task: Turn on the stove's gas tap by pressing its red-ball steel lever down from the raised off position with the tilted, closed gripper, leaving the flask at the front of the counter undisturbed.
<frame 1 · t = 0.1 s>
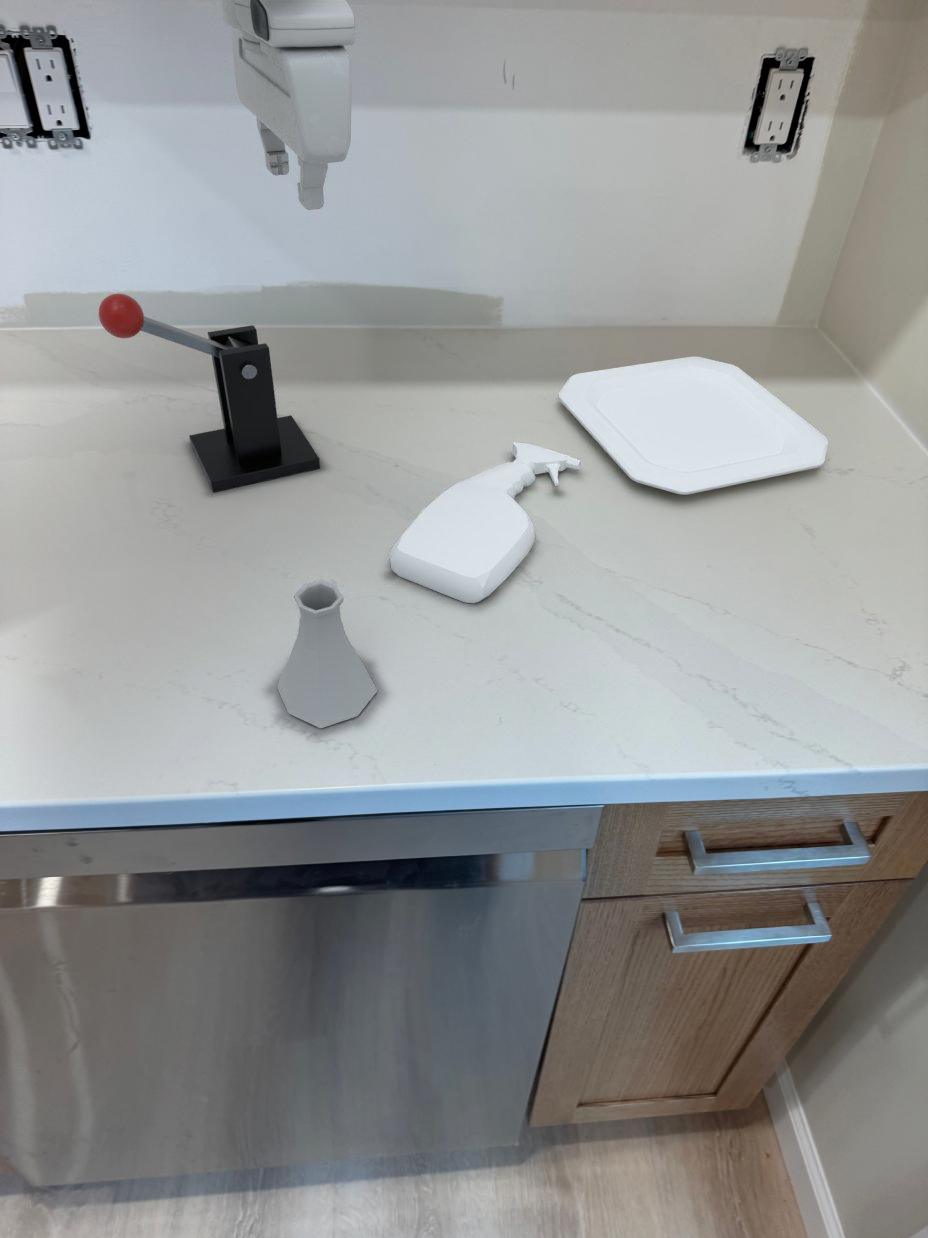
hand: (294, 188, 74), 24 cm above the counter, tool pointing down, fingers open, 8 cm apart
flask: (327, 692, 63), on the counter
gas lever: (181, 337, 74), point 14 cm above the counter, hinge at 30.0°
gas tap: (255, 457, 85), on the counter
plate: (685, 433, 93), on the counter
spray bottle: (493, 521, 80), on the counter
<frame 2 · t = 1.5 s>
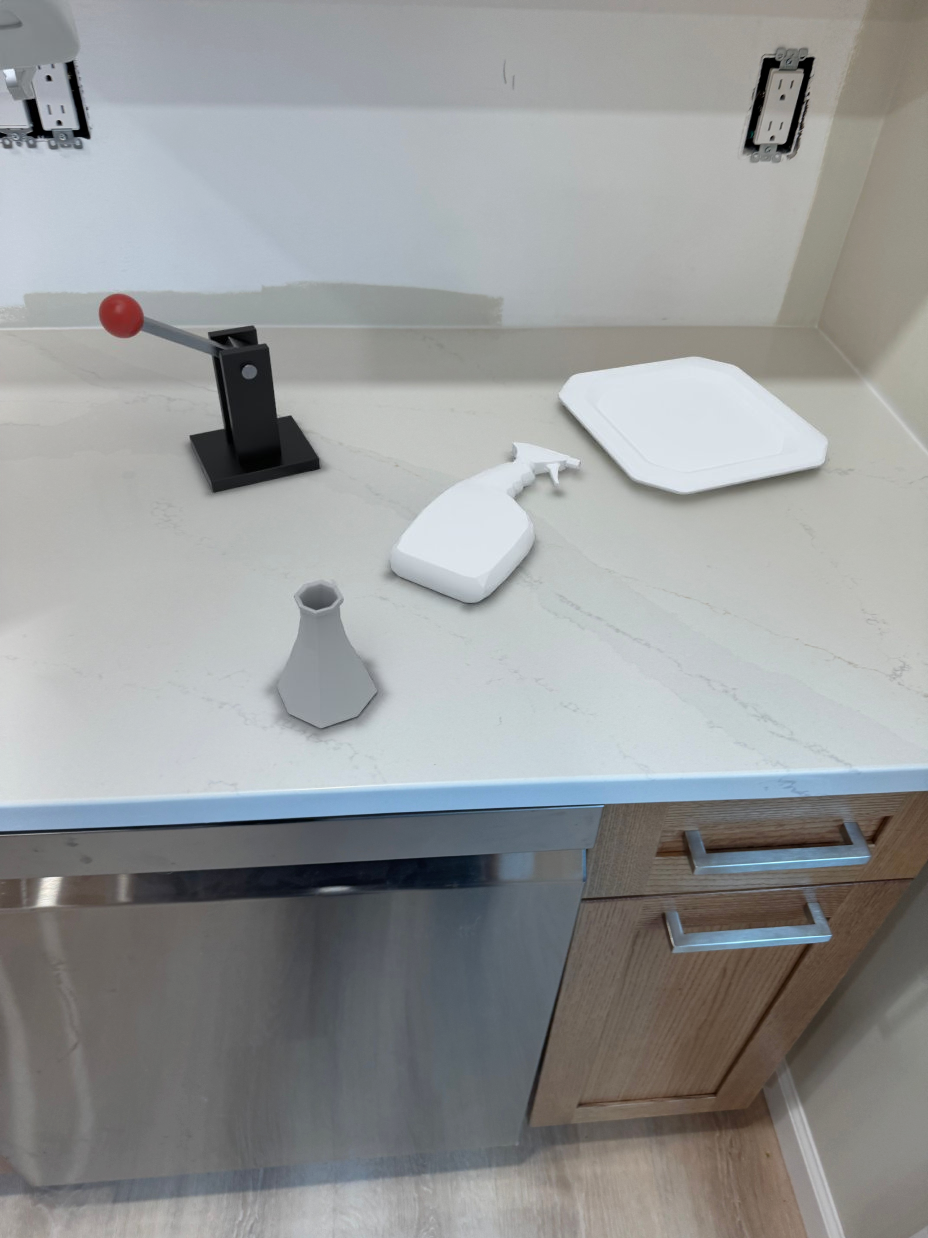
nothing on the counter moved.
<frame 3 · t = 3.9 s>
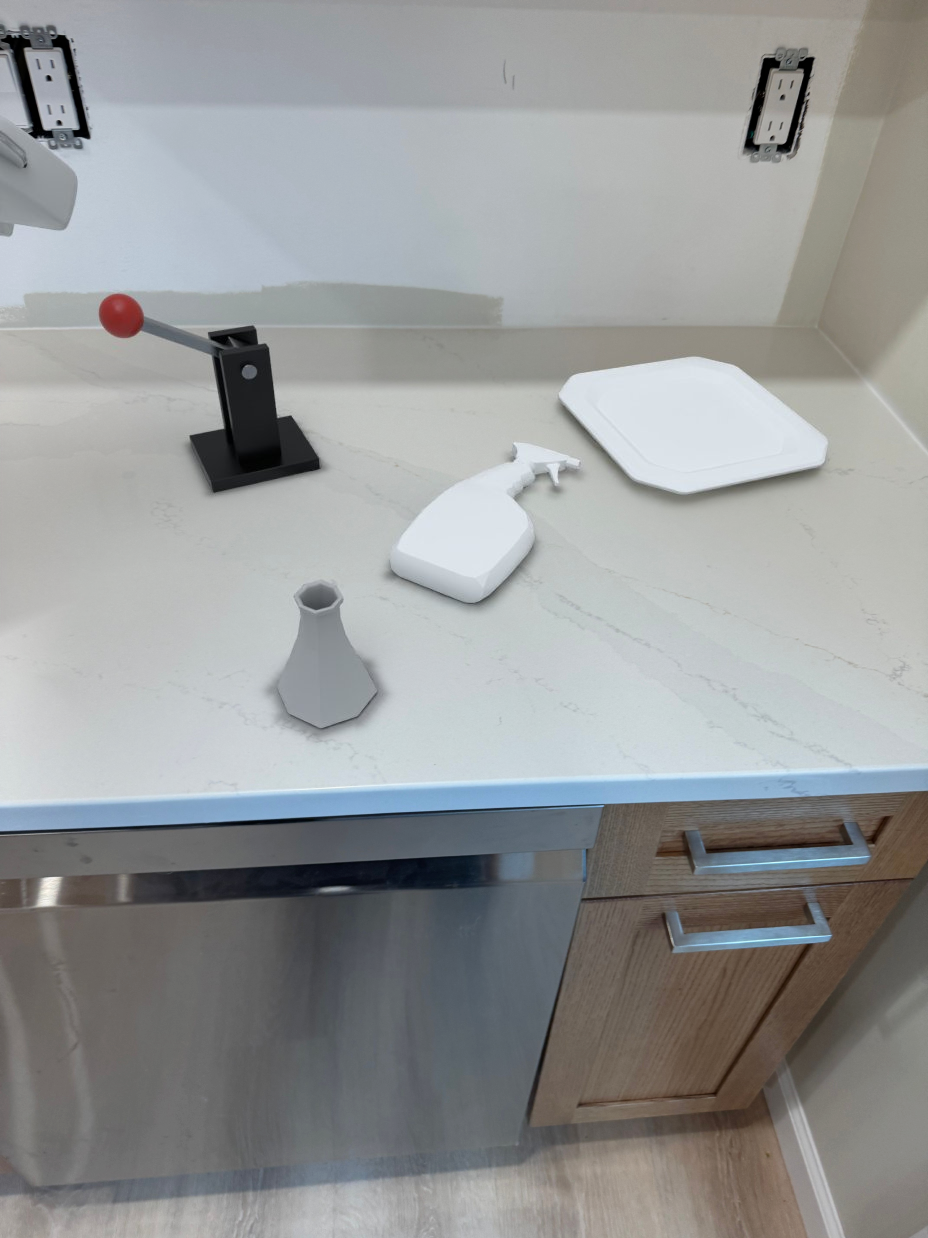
nothing on the counter moved.
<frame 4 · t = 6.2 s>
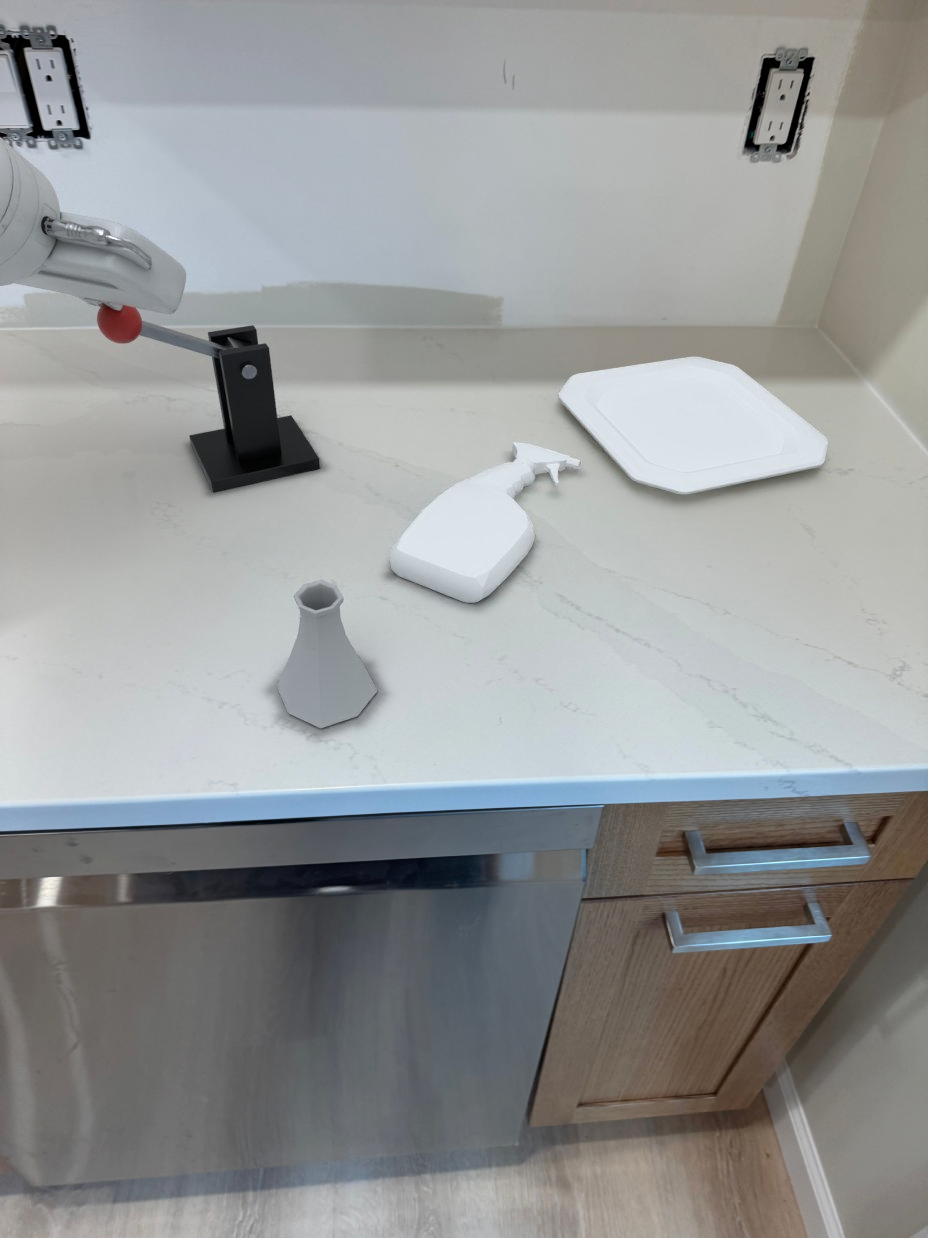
hand: (109, 298, 69), 18 cm above the counter, tool tilted 45°, fingers closed, pressing on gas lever
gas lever: (180, 339, 74), point 14 cm above the counter, hinge at 27.3°, touching gripper
everything else where it was.
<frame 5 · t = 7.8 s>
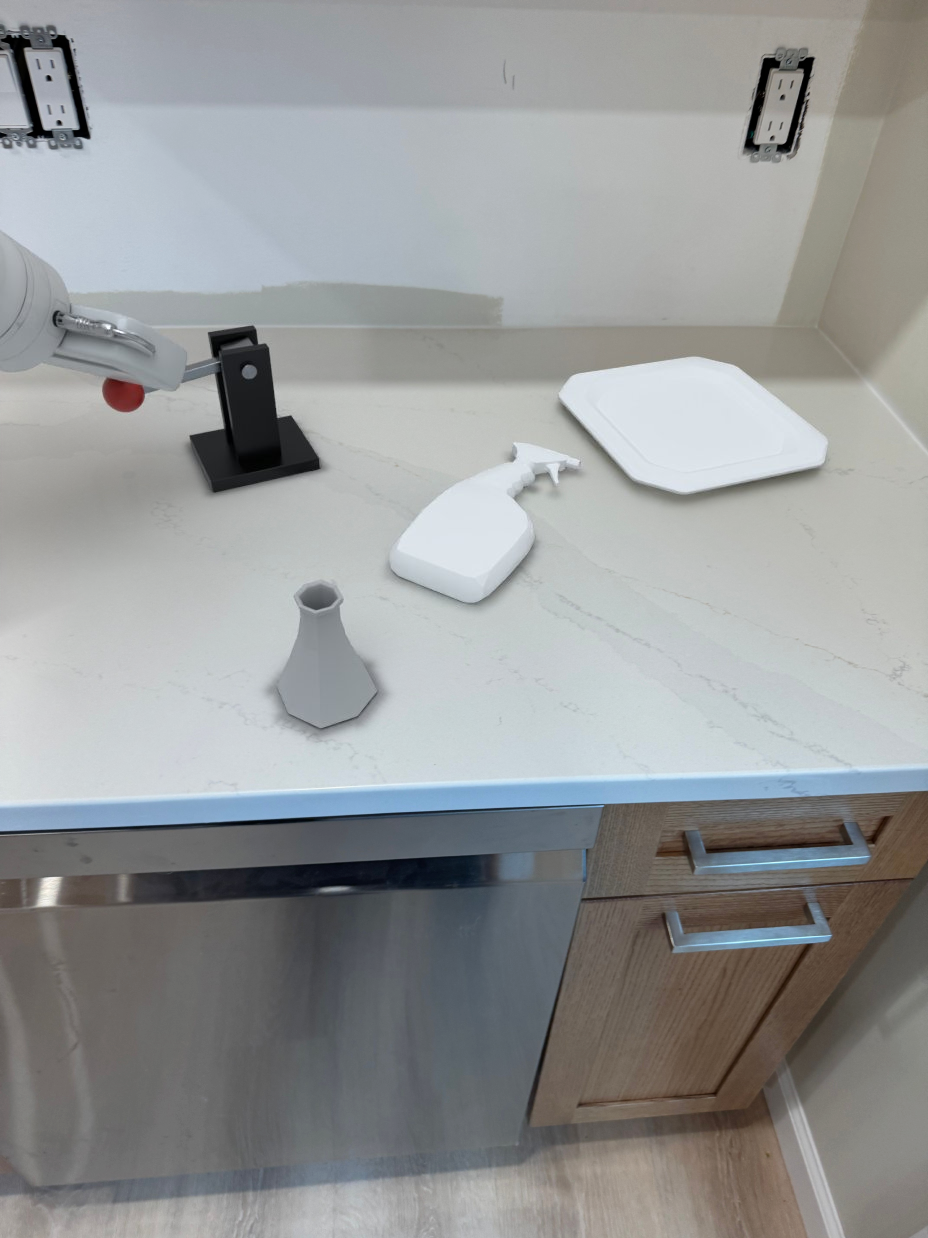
hand: (114, 369, 73), 12 cm above the counter, tool tilted 45°, fingers closed
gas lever: (181, 375, 76), point 10 cm above the counter, hinge at -7.3°, touching gripper
everything else where it was.
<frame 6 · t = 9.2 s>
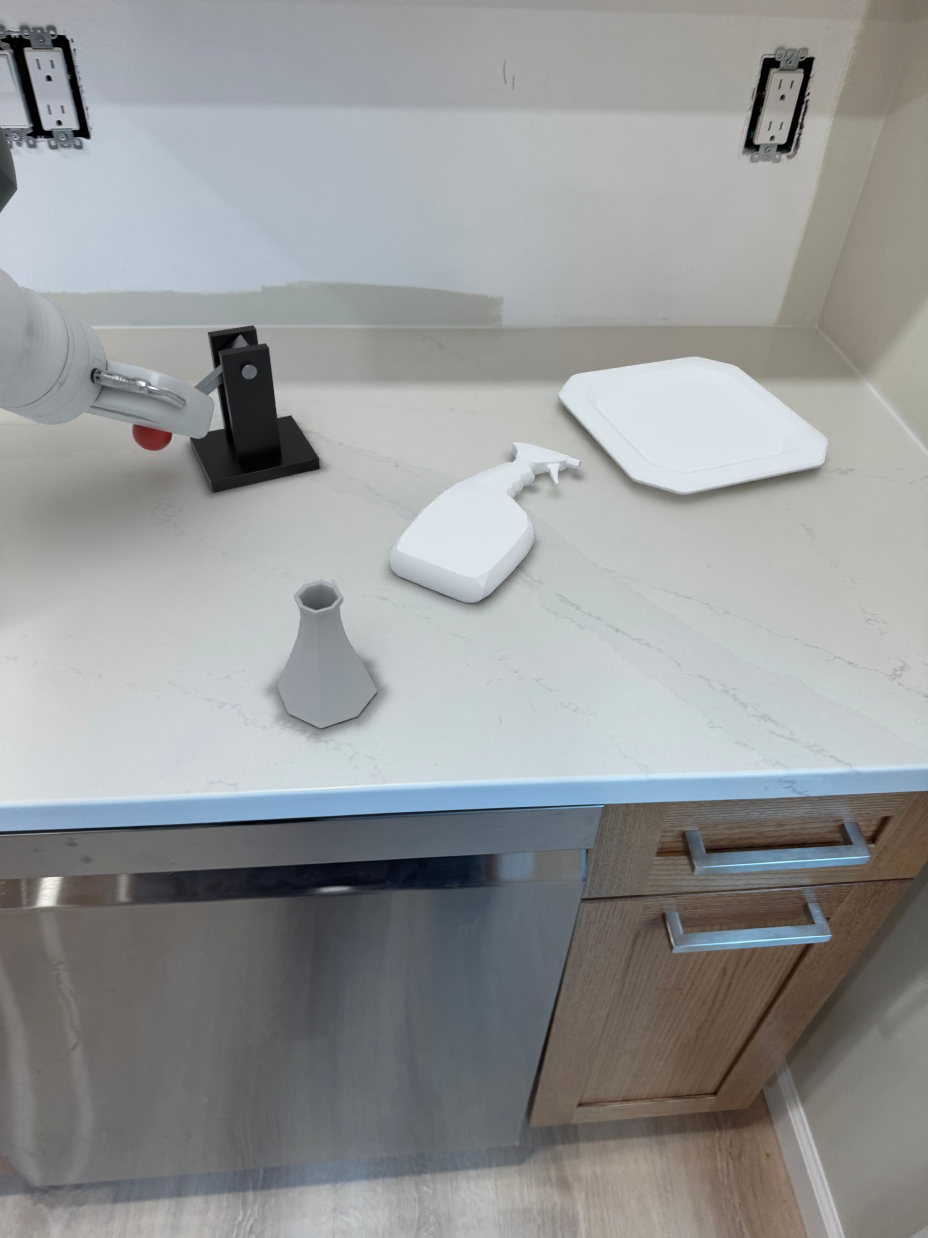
hand: (142, 414, 76), 7 cm above the counter, tool tilted 45°, fingers closed, pressing on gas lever
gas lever: (194, 396, 78), point 8 cm above the counter, hinge at -32.3°, touching gripper
everything else where it was.
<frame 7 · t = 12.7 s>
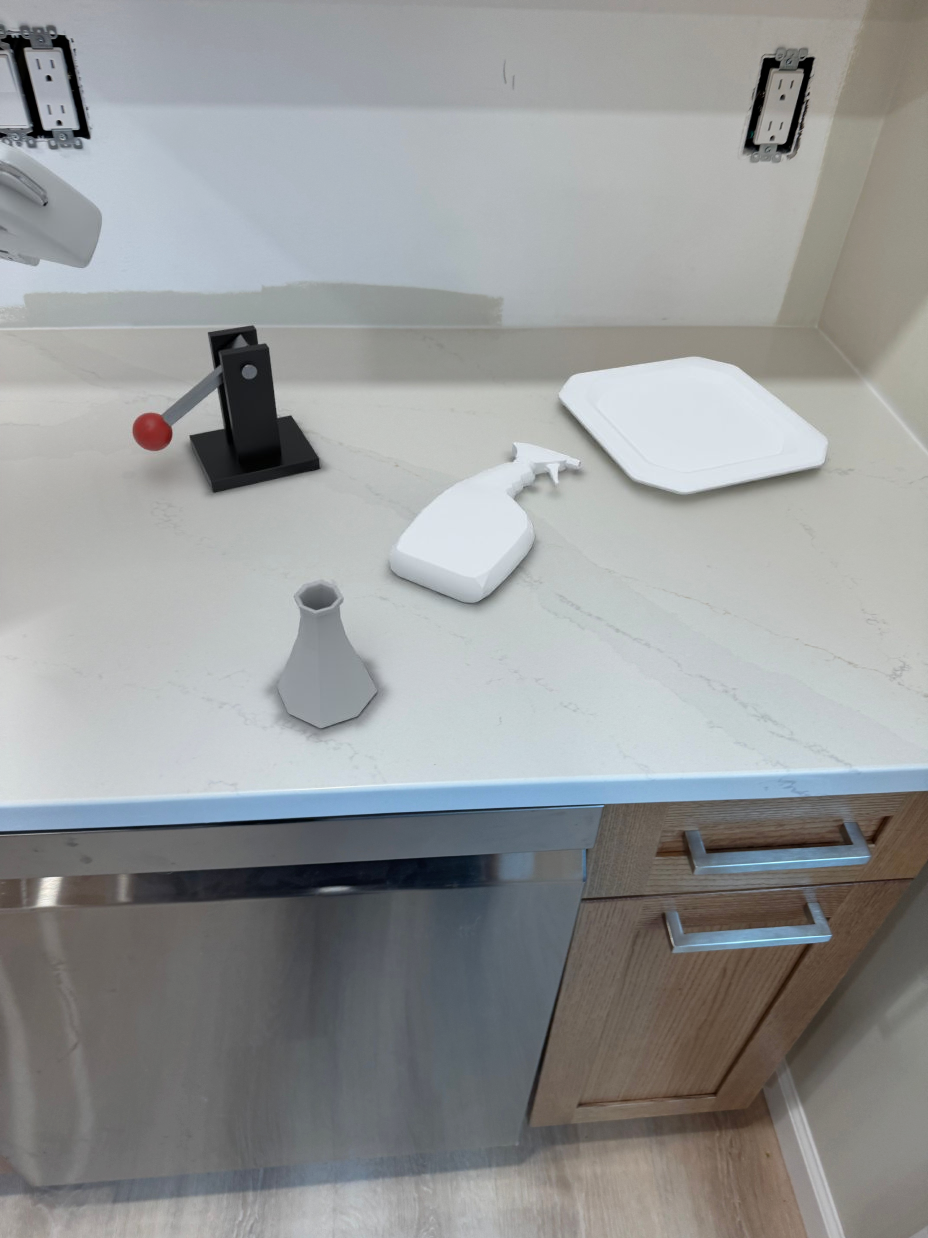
hand: (23, 252, 56), 26 cm above the counter, tool tilted 45°, fingers closed
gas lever: (194, 396, 78), point 8 cm above the counter, hinge at -32.4°
everything else where it was.
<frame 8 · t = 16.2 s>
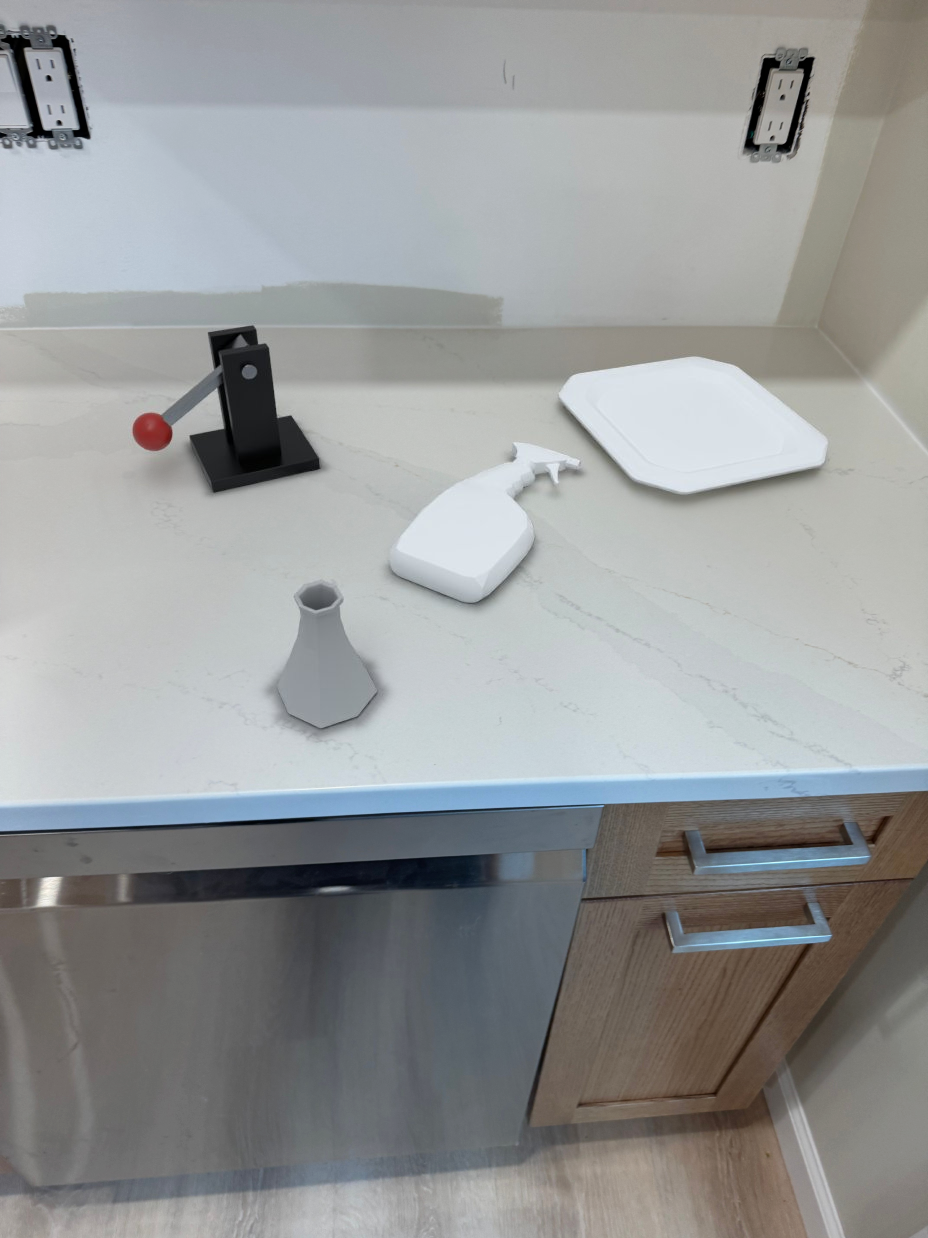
nothing on the counter moved.
at the end: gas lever at -32° (first picture: +30°); flask tilted 0°; flask moved 0.2 cm from its start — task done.
